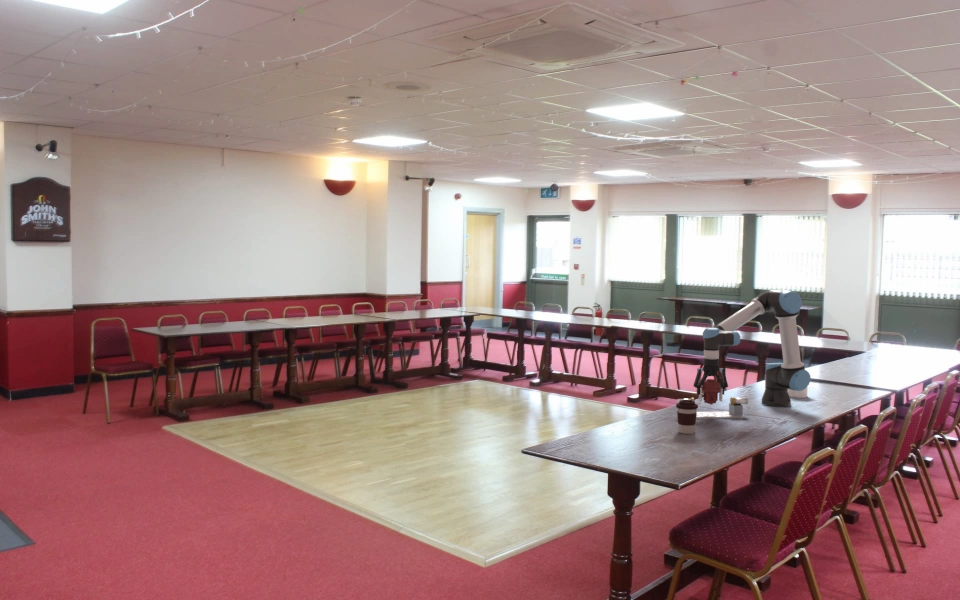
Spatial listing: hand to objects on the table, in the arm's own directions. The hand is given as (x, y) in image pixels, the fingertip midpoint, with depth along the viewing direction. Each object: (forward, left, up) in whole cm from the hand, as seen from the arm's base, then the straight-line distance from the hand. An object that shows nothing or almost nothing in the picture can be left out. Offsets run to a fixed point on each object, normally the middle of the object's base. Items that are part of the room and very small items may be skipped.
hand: (710, 400), depth 389 cm
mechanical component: (0, 0, -1) cm, 1 cm away
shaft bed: (-1, 0, -8) cm, 8 cm away
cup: (-68, -49, -8) cm, 84 cm away
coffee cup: (+22, +33, -8) cm, 41 cm away
